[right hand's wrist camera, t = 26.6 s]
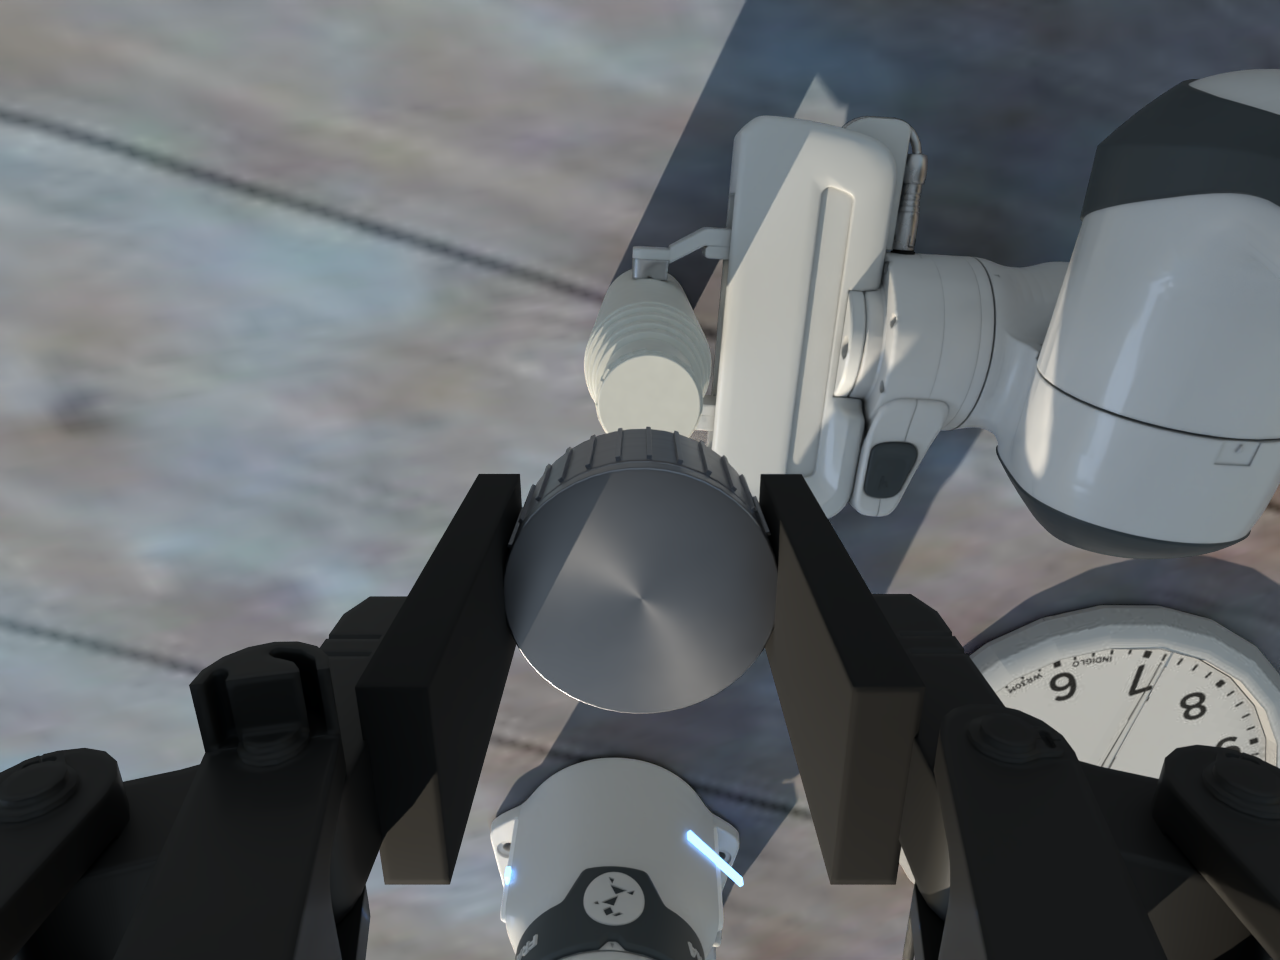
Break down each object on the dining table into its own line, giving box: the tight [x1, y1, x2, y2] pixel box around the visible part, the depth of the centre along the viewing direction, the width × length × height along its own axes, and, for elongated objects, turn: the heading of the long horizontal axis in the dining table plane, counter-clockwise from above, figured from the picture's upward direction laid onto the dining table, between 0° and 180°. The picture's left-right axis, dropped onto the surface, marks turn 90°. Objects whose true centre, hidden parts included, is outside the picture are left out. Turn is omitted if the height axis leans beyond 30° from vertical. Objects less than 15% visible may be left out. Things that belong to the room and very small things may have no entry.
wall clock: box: [899, 605, 1280, 884], centre depth 56 cm, size 30×2×30 cm
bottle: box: [584, 269, 712, 438], centre depth 35 cm, size 5×5×22 cm
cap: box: [503, 427, 778, 714], centre depth 13 cm, size 5×5×2 cm
